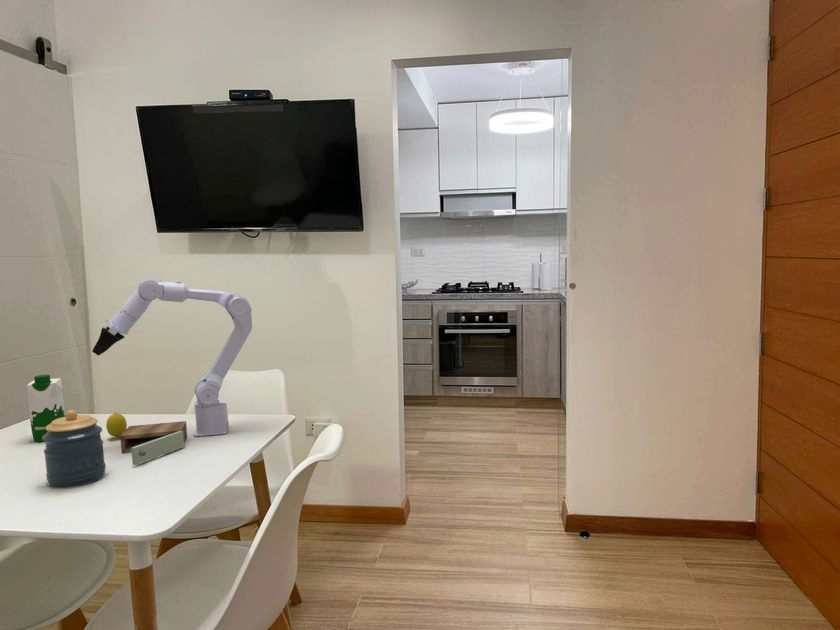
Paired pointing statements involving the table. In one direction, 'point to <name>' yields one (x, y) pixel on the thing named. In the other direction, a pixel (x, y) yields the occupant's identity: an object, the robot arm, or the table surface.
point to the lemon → (116, 425)
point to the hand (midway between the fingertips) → (97, 352)
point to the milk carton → (44, 404)
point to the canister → (73, 451)
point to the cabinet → (149, 433)
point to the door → (157, 447)
